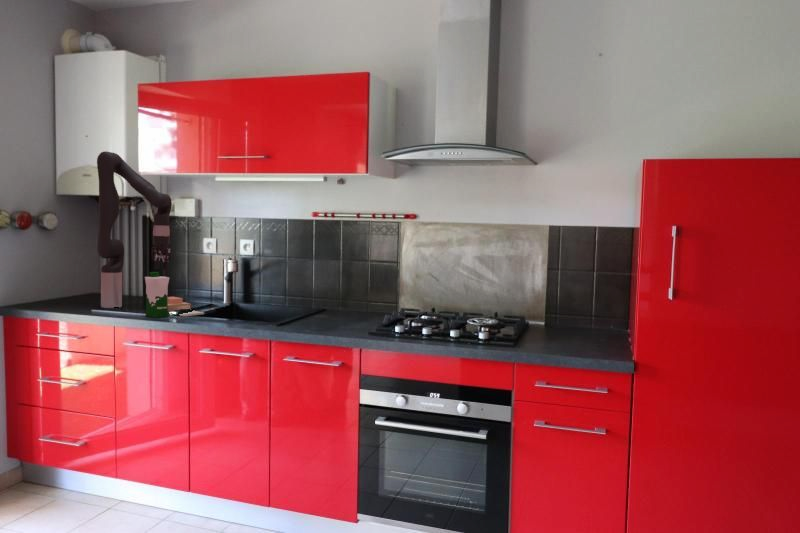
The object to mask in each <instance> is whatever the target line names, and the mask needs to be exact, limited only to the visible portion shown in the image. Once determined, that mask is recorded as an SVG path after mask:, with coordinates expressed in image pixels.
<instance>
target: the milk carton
mask: <svg viewBox="0 0 800 533" xmlns="http://www.w3.org/2000/svg"><path fill="white" fill-rule="evenodd" d="M144 280H145V281H144V282H145V317H148V318H153V319H157V318H159V319H160V318H165V317H166V318H167V317H169V314H168V297H169V296H168V295H169V292H168V289H169V287H168V286H169V282H170V277H168V276H160V272H159V271H150V272H149V276H144Z"/></svg>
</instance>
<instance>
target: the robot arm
mask: <svg viewBox="0 0 800 533" xmlns="http://www.w3.org/2000/svg"><path fill="white" fill-rule="evenodd" d="M96 167H97V168H96V169H97V175H98V176H97V178H98V214H99V215H98V217H99V218H98V220H99V221H98V222H99V223H98V235H97V236H98V237H97V247H96V248H97V253H98V256H99V257H100V258H102V259H109V260H108V262H107V263H105V264H104V265H102V266H101V268H100V270H101V271H100V272H101V274H100V276H101V278H100V280H101V282H100V283H101V285H100V286H101V288H100V307H101V308H104V309H115V308H114V307H119V308H121V307H123V302H122V300H123V278H122V277H123V275H122V274H123V267H124V264H125V263H124V258H125V246H124V243H123V241H121V239H117V238H116V239H112V230H113V226H114V225H115V223H116V221H117V220H118V217H119V215H120V213H121V212H120V208H121V207H120V206H121V205H120V195H119V193H118V190H117V187H116V184H115V174H116V175H118V176H120V177H122V178H123V179H124V180H125V181H126V182H127V183H128V185H130V187H131V188H132V189H133V190H135V191H136V192H137V193H139V194H140V195H141V196H142V197H144V198H145V199H146V200H147V202H149V203H150V205H152V206H153V207H155V208H157V210H156V213H155V214H154V216H153V230H152V244H153V245H155V247H154V246H153V247H151V248H150V249H151V253H150V254H151V260H153V261H154V269H156V270H159V269H160V265H161V264H160V262H161V261H160V260H161V259H162V271H167V270H168V268H169V264H168V263H169V262H171V261H172V248H168V246H169V245H170V244H171V243H170V242H171V240H170V239H171V238H170V235H171V234H170V232H171V230H170V215H171V211H172V203H173V202H172V198H171V196H170V195H168V194H166V193H161V192H159V191H158V190H157V189H156V187H155V186H154V185H153V184H152V183H151V182H150V181H148V180H147V179H146V178H144V176H142V175H140V174H139V173H137V171H135V170H134V169H133V168H132V167H131V166H130V165H129V164H128V163H127V162H126V161H125V160H124V159H123V158H122V157H121V155H119V154H118V153H115V152H110V151H105V150H104V151H102V152H100V153H98V156H97V157H96Z"/></svg>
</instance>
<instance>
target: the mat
mask: <svg viewBox="0 0 800 533" xmlns="http://www.w3.org/2000/svg"><path fill="white" fill-rule="evenodd" d="M179 315H180V316H179V317H181V316H183V317H190V316H191V317H193V316H198V315H199V316H200V315H205V312H204V311H199V310H193V311H192V312H188V313H183V314H179Z"/></svg>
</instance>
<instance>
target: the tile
mask: <svg viewBox="0 0 800 533" xmlns="http://www.w3.org/2000/svg"><path fill="white" fill-rule="evenodd" d="M183 300H184V299H183V297H178V296H168V304H182V303H183V302H184V301H183Z"/></svg>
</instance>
